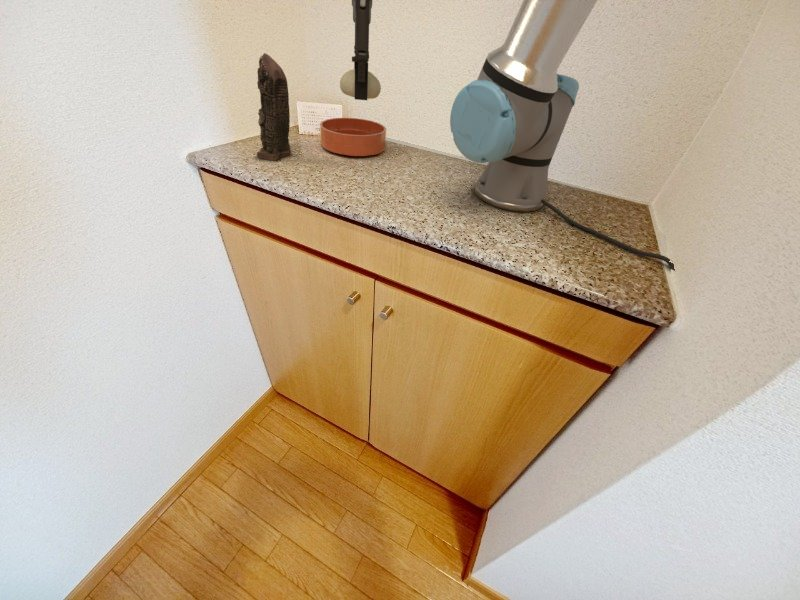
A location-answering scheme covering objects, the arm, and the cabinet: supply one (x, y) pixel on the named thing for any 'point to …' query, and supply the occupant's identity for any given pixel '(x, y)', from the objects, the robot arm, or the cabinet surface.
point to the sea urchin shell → (349, 84)
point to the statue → (273, 110)
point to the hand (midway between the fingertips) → (360, 94)
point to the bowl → (353, 136)
